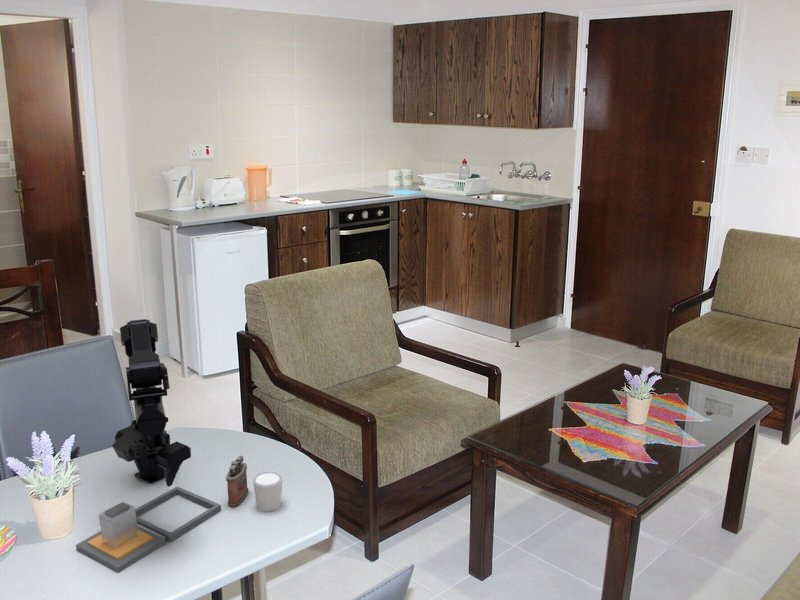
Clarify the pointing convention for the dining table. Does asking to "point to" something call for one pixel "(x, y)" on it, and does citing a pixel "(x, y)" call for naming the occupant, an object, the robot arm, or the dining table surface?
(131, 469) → the dining table surface
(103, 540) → the block
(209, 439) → the dining table surface
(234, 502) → the red tin
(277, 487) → the grey cup
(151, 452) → the robot arm
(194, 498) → the gray square frame
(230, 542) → the dining table surface
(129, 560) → the lid
